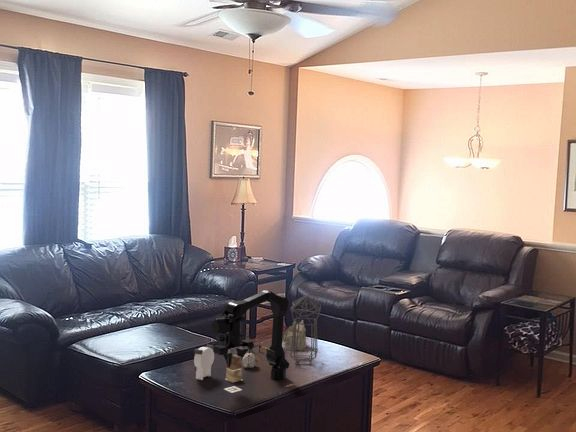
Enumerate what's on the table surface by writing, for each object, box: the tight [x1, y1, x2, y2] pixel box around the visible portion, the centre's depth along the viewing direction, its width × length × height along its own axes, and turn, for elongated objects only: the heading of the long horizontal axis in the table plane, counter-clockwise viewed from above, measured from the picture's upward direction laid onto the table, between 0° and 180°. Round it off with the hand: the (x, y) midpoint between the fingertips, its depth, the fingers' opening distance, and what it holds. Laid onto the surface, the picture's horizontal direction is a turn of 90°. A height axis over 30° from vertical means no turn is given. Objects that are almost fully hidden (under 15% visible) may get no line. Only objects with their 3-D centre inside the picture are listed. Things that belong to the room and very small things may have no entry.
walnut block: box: [224, 353, 243, 370], centre depth 271 cm, size 5×5×5 cm
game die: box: [242, 352, 259, 369], centre depth 303 cm, size 9×8×10 cm
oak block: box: [225, 367, 243, 383], centre depth 284 cm, size 5×5×5 cm
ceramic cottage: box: [282, 319, 308, 351], centre depth 345 cm, size 16×16×15 cm
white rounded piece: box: [193, 344, 215, 381], centre depth 286 cm, size 12×11×15 cm
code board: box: [224, 378, 243, 394], centre depth 277 cm, size 18×20×1 cm
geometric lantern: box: [289, 295, 322, 366], centre depth 314 cm, size 16×16×35 cm
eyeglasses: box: [246, 345, 270, 364], centre depth 323 cm, size 14×14×4 cm
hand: (233, 366), depth 271 cm, fingers closed on walnut block, 5 cm apart
